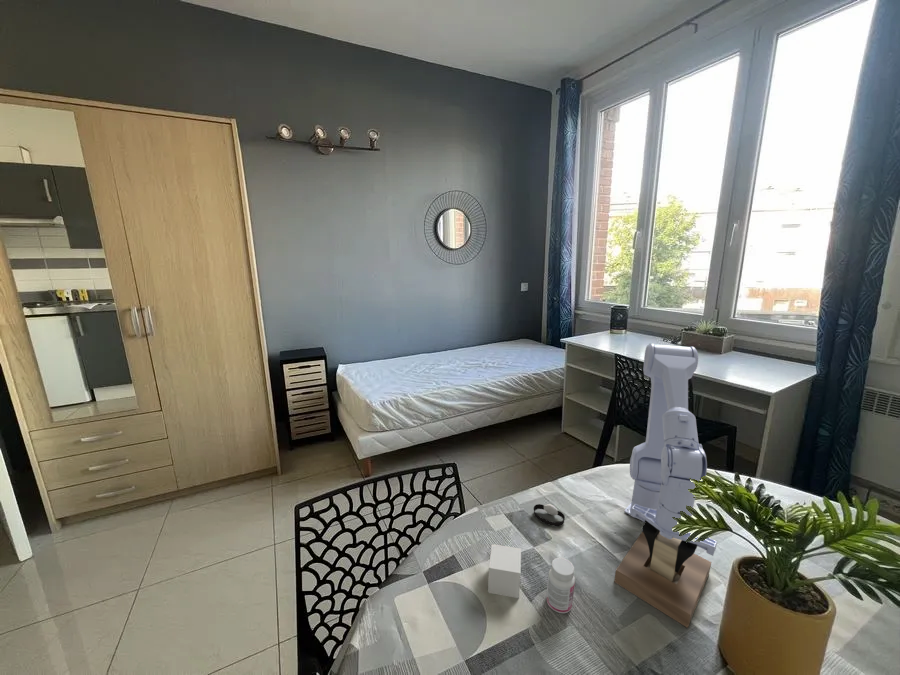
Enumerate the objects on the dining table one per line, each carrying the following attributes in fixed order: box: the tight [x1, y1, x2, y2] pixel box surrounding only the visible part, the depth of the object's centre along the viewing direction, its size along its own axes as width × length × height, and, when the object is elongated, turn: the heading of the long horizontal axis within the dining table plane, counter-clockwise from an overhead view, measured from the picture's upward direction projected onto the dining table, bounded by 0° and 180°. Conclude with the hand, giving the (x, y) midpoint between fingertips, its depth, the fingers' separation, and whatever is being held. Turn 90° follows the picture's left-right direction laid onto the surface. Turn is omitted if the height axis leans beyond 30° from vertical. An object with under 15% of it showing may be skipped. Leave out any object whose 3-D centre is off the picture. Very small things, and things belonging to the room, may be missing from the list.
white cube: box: [487, 543, 522, 599], centre depth 74 cm, size 6×6×6 cm
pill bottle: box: [545, 557, 576, 614], centre depth 70 cm, size 5×5×8 cm
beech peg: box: [650, 532, 682, 582], centre depth 75 cm, size 4×4×8 cm
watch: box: [533, 503, 566, 527], centre depth 92 cm, size 8×5×4 cm, turn 58°
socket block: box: [613, 531, 712, 629], centre depth 76 cm, size 16×13×3 cm
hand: (664, 562), depth 75 cm, fingers closed on beech peg, 4 cm apart
